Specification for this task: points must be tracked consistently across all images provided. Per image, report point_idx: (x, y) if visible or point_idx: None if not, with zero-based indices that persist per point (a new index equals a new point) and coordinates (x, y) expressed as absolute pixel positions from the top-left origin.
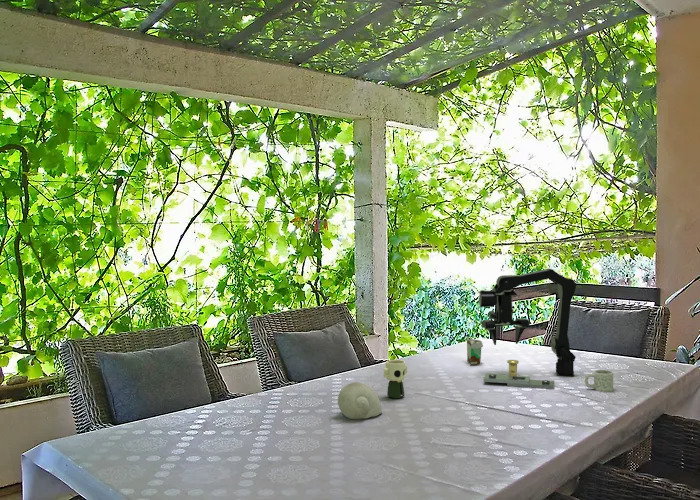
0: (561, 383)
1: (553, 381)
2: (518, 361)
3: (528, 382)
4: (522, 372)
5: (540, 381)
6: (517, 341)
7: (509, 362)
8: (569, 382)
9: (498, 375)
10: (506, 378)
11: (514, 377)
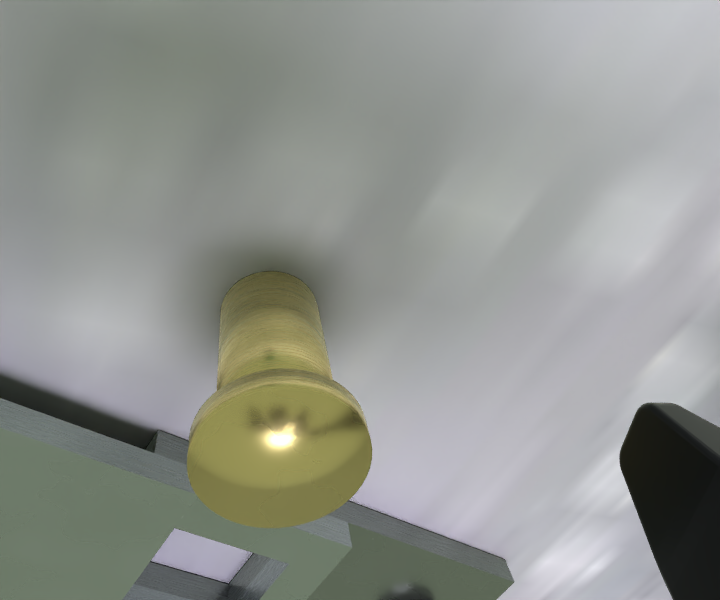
0: (572, 546)
1: (498, 590)
2: (349, 497)
3: None
4: (559, 60)
5: (397, 580)
6: (663, 544)
7: (199, 488)
8: None
9: (8, 465)
10: (62, 581)
11: (188, 523)
